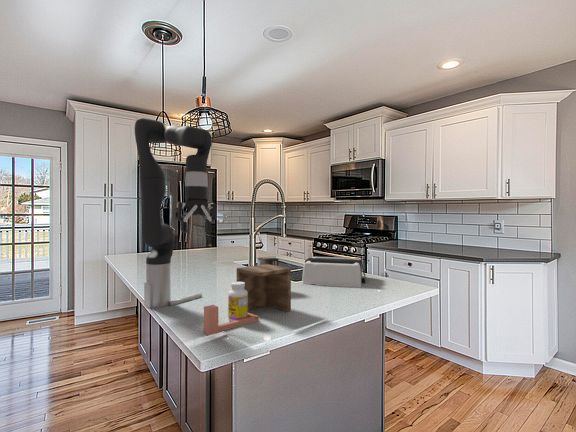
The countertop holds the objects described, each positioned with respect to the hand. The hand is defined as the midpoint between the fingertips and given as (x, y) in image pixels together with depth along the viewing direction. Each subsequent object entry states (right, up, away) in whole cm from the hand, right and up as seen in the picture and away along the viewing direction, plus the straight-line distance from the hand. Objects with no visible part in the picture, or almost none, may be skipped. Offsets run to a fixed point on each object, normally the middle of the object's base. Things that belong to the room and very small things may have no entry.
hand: (196, 232), depth 113 cm
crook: (+12, -30, -5) cm, 33 cm away
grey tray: (+56, -31, +64) cm, 90 cm away
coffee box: (+22, -30, +40) cm, 55 cm away
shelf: (+23, -30, +10) cm, 39 cm away
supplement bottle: (+15, -30, 0) cm, 34 cm away
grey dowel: (-11, -29, +25) cm, 40 cm away
